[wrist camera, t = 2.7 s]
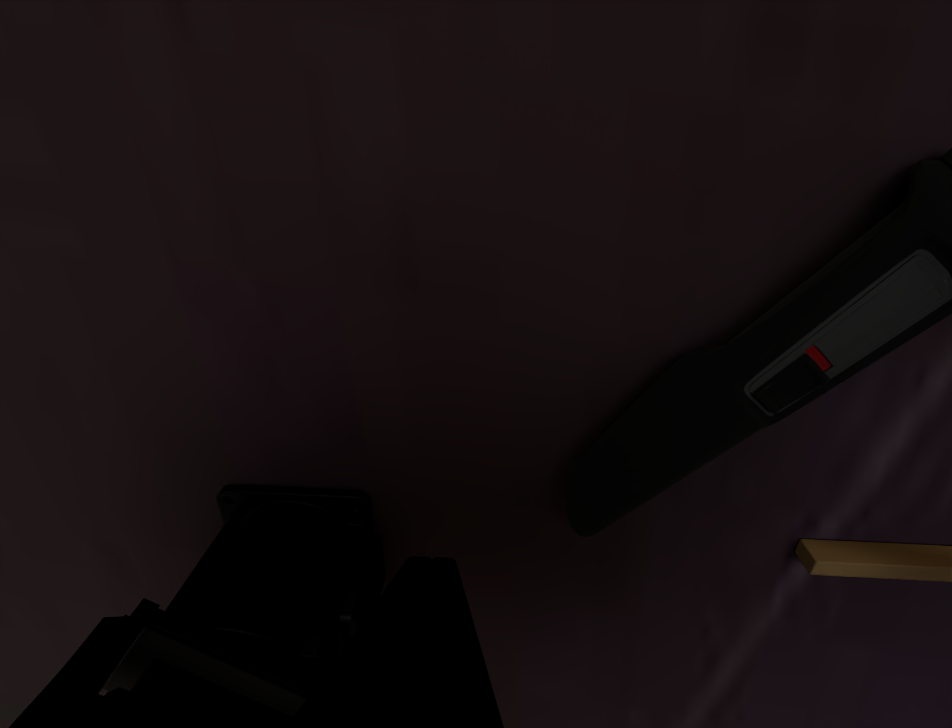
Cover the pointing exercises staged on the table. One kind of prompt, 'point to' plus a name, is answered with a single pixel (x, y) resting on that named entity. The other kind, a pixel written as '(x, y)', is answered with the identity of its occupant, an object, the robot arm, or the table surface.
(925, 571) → the dock
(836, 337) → the electric trimmer
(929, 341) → the table surface
